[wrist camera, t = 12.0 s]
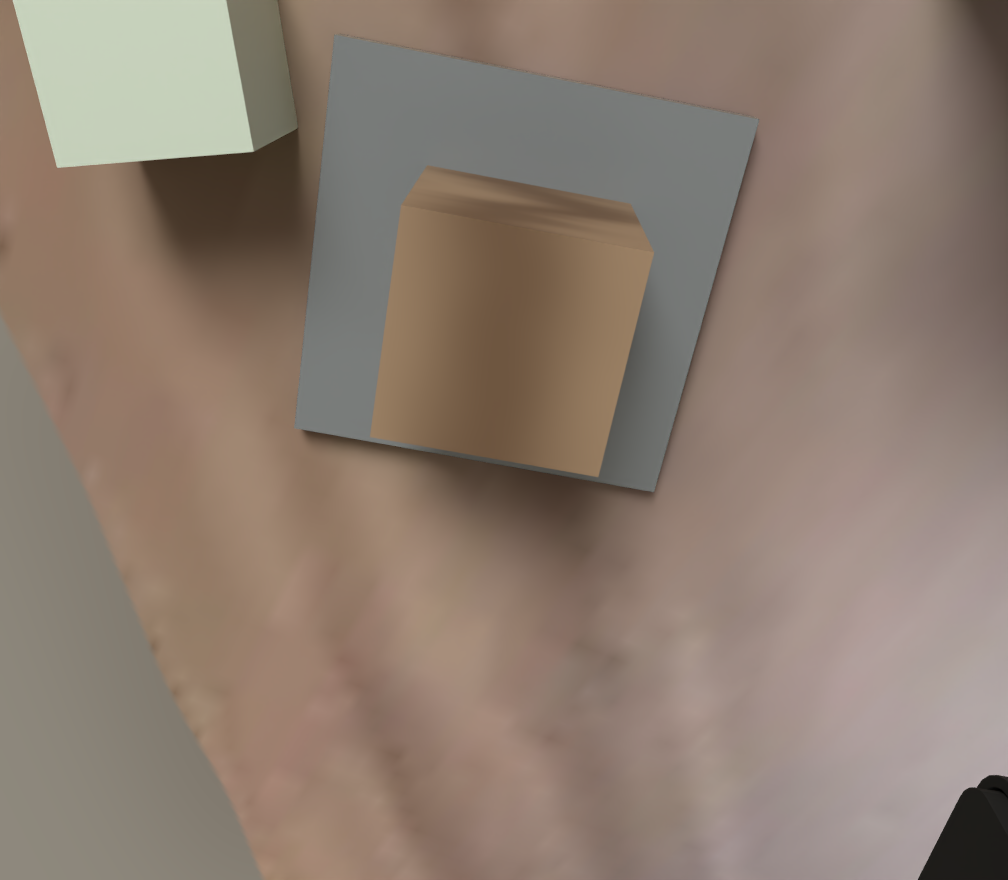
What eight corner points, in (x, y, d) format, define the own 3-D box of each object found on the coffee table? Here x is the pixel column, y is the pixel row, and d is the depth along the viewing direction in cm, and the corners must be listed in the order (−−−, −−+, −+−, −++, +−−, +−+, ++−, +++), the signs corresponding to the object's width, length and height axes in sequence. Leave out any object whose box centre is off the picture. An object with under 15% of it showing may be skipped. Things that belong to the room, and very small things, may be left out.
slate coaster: (753, 116, 28) (759, 119, 27) (651, 481, 33) (653, 492, 32) (339, 33, 27) (334, 34, 26) (299, 418, 32) (294, 428, 31)
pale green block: (267, -64, 26) (212, -78, 22) (298, 127, 28) (253, 151, 24) (89, -47, 26) (-3, -57, 22) (133, 141, 29) (57, 167, 24)
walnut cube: (630, 203, 28) (654, 252, 22) (586, 392, 30) (598, 477, 25) (427, 164, 28) (401, 205, 22) (399, 358, 30) (369, 437, 25)
